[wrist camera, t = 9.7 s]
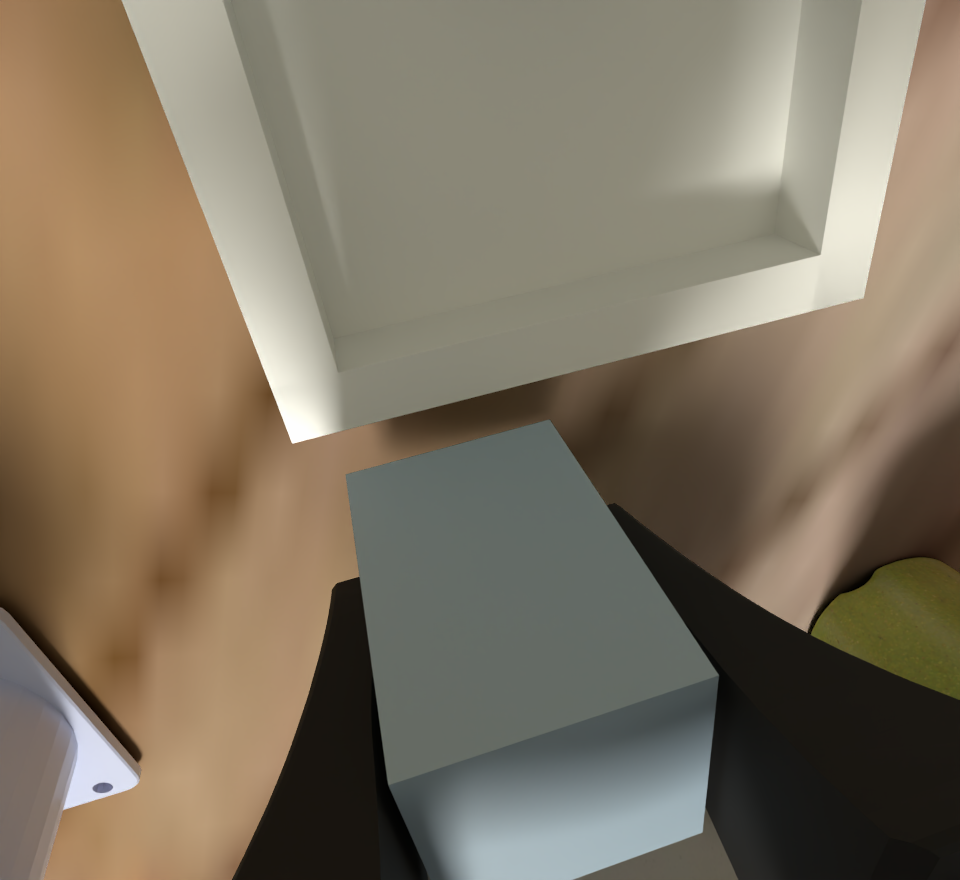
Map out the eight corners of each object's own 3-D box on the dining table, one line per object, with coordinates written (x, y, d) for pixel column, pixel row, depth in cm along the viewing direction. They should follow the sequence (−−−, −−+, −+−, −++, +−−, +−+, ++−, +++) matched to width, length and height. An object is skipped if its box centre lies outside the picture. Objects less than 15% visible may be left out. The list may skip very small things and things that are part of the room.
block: (393, 615, 14) (450, 924, 9) (345, 474, 12) (388, 785, 7) (564, 564, 15) (702, 832, 10) (549, 419, 13) (719, 675, 8)
